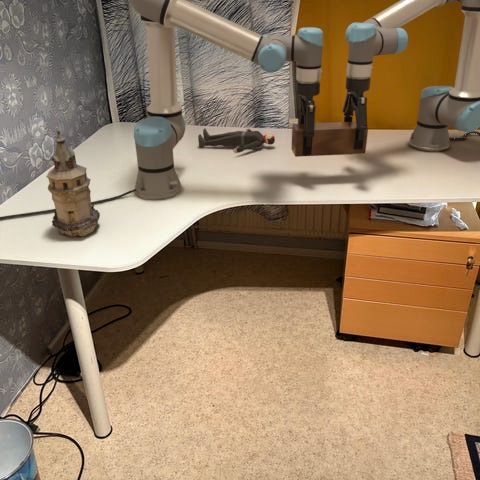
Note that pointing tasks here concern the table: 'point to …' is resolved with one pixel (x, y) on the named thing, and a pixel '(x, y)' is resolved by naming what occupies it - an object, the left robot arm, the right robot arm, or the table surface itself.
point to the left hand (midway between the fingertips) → (304, 151)
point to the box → (328, 139)
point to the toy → (236, 139)
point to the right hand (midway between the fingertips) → (352, 142)
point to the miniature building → (70, 193)
